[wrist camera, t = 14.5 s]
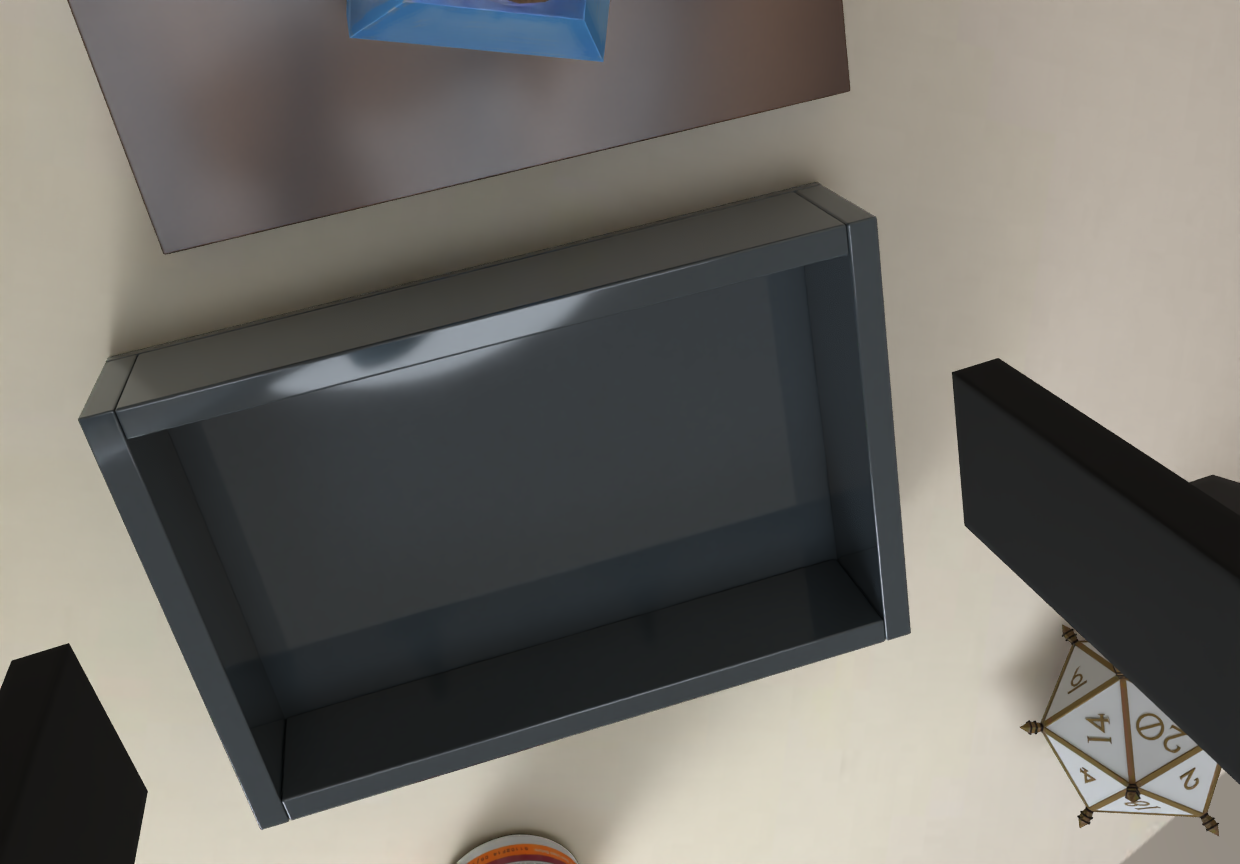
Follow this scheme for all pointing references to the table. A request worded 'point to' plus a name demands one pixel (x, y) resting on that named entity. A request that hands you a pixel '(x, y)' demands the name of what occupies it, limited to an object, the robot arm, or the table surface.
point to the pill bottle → (519, 852)
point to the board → (414, 99)
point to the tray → (518, 495)
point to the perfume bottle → (487, 25)
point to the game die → (1122, 744)
